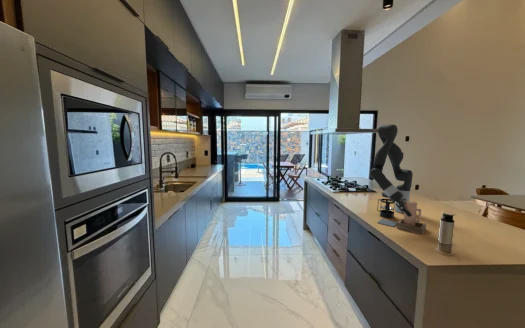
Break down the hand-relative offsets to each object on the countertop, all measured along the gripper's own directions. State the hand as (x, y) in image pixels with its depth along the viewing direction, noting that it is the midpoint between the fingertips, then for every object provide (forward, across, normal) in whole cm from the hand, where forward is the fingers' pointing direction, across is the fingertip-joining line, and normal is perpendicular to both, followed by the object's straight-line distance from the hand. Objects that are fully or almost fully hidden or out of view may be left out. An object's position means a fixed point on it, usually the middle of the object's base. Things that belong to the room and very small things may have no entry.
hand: (412, 214), depth 141 cm
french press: (-7, +15, +20) cm, 26 cm away
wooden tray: (+7, 0, +7) cm, 9 cm away
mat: (-3, 0, +16) cm, 16 cm away
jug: (+7, 0, +7) cm, 9 cm away
